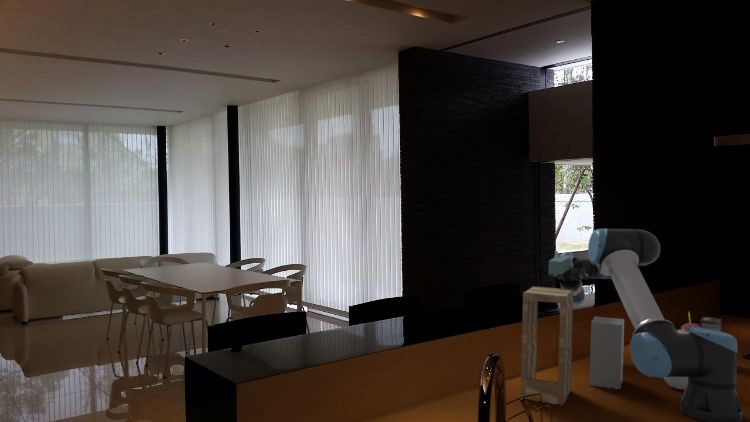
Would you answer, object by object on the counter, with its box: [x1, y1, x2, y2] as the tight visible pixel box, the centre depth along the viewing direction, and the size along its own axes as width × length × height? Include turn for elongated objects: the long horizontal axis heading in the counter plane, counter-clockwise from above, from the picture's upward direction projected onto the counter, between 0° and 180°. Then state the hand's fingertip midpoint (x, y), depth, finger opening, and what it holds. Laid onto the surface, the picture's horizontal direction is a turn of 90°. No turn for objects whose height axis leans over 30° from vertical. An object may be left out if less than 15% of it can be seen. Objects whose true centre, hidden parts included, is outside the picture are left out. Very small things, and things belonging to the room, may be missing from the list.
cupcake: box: [680, 312, 700, 333], centre depth 259 cm, size 9×8×12 cm
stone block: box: [589, 316, 625, 390], centre depth 196 cm, size 10×9×20 cm
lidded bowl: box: [663, 377, 688, 391], centre depth 194 cm, size 13×13×11 cm
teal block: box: [547, 254, 571, 275], centre depth 203 cm, size 24×4×4 cm, turn 155°
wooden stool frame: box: [520, 285, 574, 406], centre depth 183 cm, size 15×12×31 cm
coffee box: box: [699, 316, 723, 332], centre depth 222 cm, size 9×6×16 cm
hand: (563, 254), depth 206 cm, fingers closed on teal block, 4 cm apart
